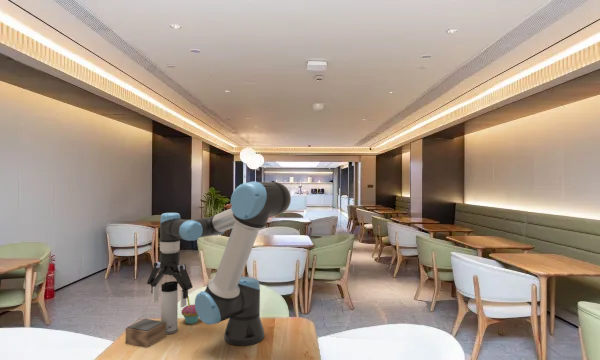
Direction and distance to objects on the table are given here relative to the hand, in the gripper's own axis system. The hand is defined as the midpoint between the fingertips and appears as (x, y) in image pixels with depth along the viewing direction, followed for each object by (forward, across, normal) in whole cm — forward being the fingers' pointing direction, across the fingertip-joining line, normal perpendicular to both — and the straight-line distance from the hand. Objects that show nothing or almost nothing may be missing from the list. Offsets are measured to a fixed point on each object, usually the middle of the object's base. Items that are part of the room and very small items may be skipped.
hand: (169, 304), depth 156 cm
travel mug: (+11, 0, 0) cm, 11 cm away
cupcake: (+11, -2, -12) cm, 16 cm away
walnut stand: (+11, +2, +10) cm, 15 cm away
